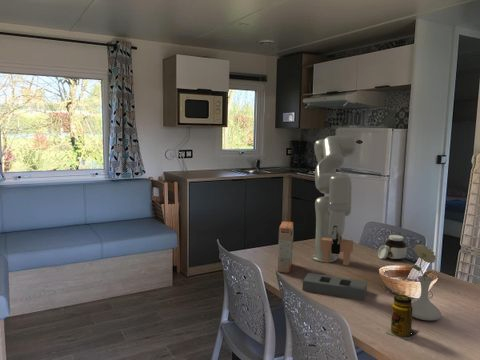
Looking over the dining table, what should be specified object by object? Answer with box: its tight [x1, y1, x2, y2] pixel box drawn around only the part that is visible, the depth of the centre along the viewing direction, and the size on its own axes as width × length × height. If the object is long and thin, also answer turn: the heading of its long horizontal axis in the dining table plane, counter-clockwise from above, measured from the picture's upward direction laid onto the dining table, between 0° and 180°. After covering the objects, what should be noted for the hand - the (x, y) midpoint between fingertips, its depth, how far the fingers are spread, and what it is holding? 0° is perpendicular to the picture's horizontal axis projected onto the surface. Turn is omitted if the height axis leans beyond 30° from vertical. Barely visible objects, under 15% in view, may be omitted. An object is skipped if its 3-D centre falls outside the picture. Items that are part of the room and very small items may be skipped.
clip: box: [321, 237, 354, 266], centre depth 164 cm, size 4×12×9 cm, turn 67°
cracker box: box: [277, 221, 294, 274], centre depth 192 cm, size 14×6×21 cm, turn 168°
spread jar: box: [377, 234, 408, 262], centre depth 208 cm, size 12×11×12 cm
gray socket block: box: [302, 272, 368, 301], centre depth 166 cm, size 10×24×4 cm, turn 67°
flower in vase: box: [411, 244, 442, 321], centre depth 144 cm, size 13×11×25 cm
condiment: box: [386, 294, 418, 341], centre depth 132 cm, size 7×8×12 cm
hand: (336, 251), depth 164 cm, fingers closed on clip, 4 cm apart
